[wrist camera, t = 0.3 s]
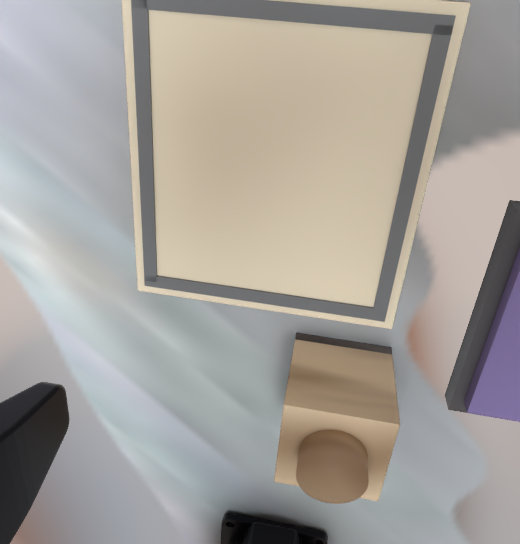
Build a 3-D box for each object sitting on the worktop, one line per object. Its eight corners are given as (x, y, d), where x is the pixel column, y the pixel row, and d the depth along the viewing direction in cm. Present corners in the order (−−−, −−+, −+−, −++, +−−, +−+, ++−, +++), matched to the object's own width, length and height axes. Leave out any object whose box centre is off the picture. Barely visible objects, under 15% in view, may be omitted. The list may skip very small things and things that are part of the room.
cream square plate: (391, 325, 23) (392, 330, 22) (140, 287, 24) (136, 291, 24) (469, 2, 16) (471, 2, 16) (123, -25, 18) (118, -25, 17)
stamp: (373, 416, 26) (379, 526, 20) (287, 402, 26) (270, 505, 21) (391, 346, 23) (402, 449, 18) (296, 332, 24) (279, 427, 18)
